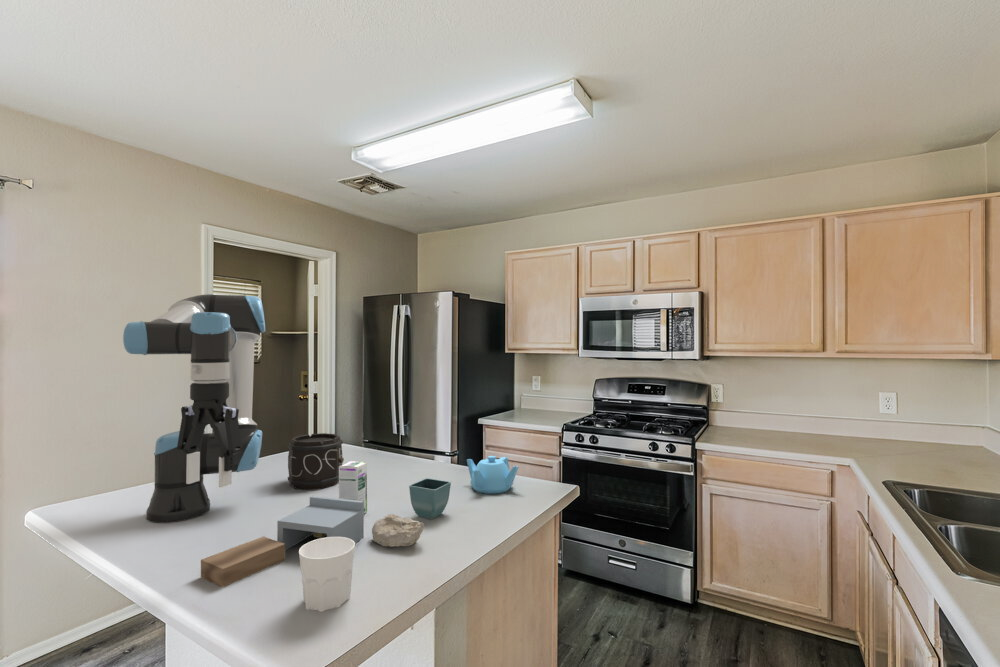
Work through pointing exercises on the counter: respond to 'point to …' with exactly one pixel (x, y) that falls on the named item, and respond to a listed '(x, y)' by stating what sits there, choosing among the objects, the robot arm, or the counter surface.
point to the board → (242, 561)
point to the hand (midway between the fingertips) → (208, 483)
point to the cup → (326, 572)
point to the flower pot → (429, 497)
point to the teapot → (491, 475)
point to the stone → (396, 531)
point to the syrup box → (353, 482)
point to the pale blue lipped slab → (323, 521)
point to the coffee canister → (314, 461)
